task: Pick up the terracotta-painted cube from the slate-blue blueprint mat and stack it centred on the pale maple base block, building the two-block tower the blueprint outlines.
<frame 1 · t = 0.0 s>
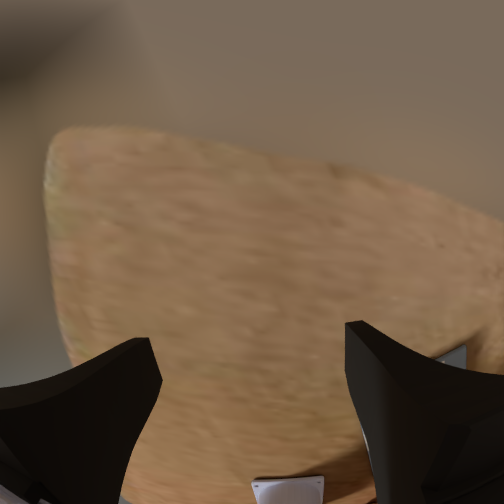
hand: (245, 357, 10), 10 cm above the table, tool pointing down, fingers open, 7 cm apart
figurine: (377, 502, 27), on the table
blueprint mat: (416, 424, 22), on the table
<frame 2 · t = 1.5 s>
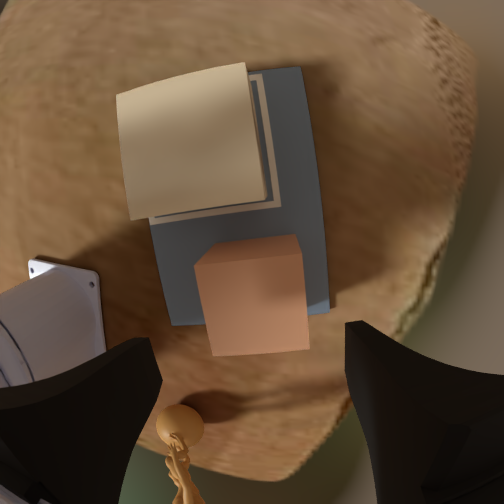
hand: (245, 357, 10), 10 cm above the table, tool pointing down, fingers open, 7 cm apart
figurine: (197, 411, 23), on the table
terracotta cube: (259, 277, 19), resting on blueprint mat
maple base block: (202, 148, 17), resting on blueprint mat
blueprint mat: (230, 200, 18), on the table
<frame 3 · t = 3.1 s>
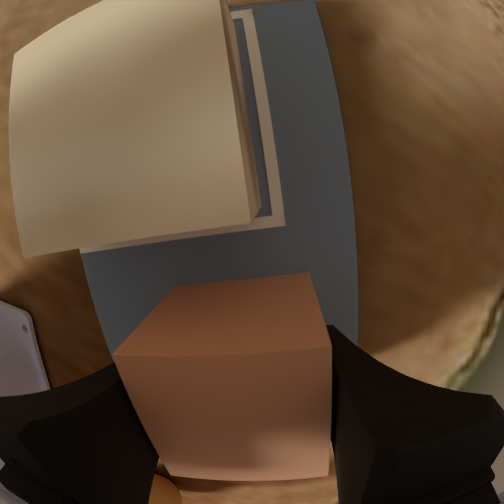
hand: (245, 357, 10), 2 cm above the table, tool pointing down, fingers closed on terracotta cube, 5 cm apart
figurine: (174, 479, 15), on the table
terracotta cube: (249, 339, 11), resting on blueprint mat, touching gripper
maple base block: (152, 127, 10), resting on blueprint mat
blueprint mat: (198, 214, 11), on the table
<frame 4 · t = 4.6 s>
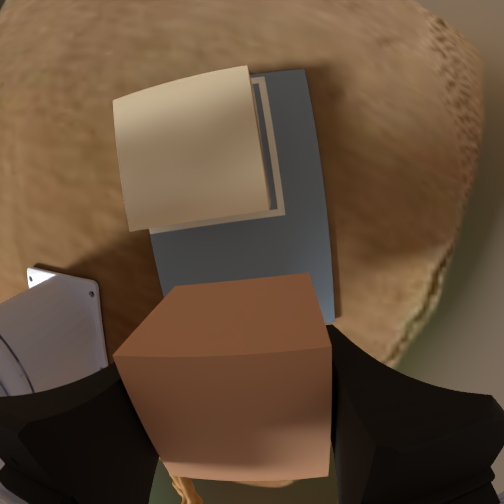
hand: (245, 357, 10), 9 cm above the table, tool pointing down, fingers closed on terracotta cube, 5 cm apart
figurine: (200, 420, 22), on the table
terracotta cube: (249, 339, 11), point 8 cm above the table, touching gripper
maple base block: (203, 154, 17), resting on blueprint mat
blueprint mat: (232, 208, 18), on the table
when the fingers open (7 cm above the table, at t = 6.4 s): terracotta cube stays where it is, resting on maple base block.
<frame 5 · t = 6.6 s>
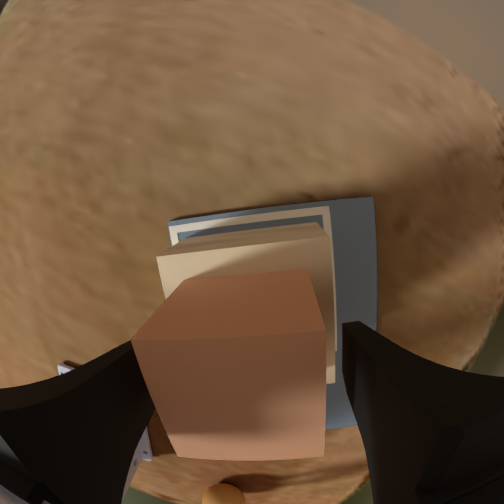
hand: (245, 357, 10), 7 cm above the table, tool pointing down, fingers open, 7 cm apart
figurine: (237, 485, 22), on the table
terracotta cube: (251, 330, 12), point 4 cm above the table, touching maple base block
maple base block: (257, 293, 16), resting on blueprint mat, touching terracotta cube
blueprint mat: (285, 342, 17), on the table
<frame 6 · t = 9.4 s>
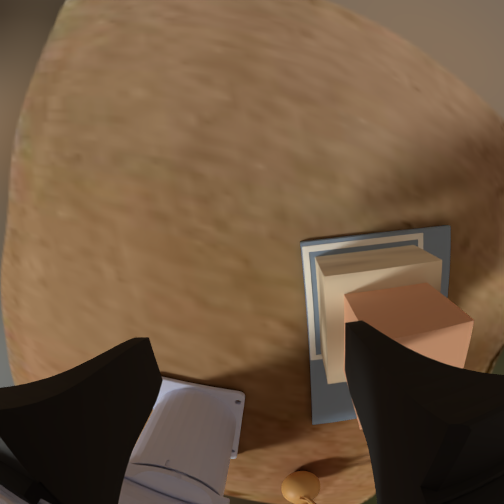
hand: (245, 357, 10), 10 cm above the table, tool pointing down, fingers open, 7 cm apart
figurine: (309, 472, 25), on the table
terracotta cube: (385, 329, 15), point 4 cm above the table, touching maple base block
maple base block: (368, 300, 19), resting on blueprint mat, touching terracotta cube
blueprint mat: (380, 338, 20), on the table
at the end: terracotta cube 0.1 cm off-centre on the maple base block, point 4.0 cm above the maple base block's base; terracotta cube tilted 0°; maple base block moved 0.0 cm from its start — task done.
